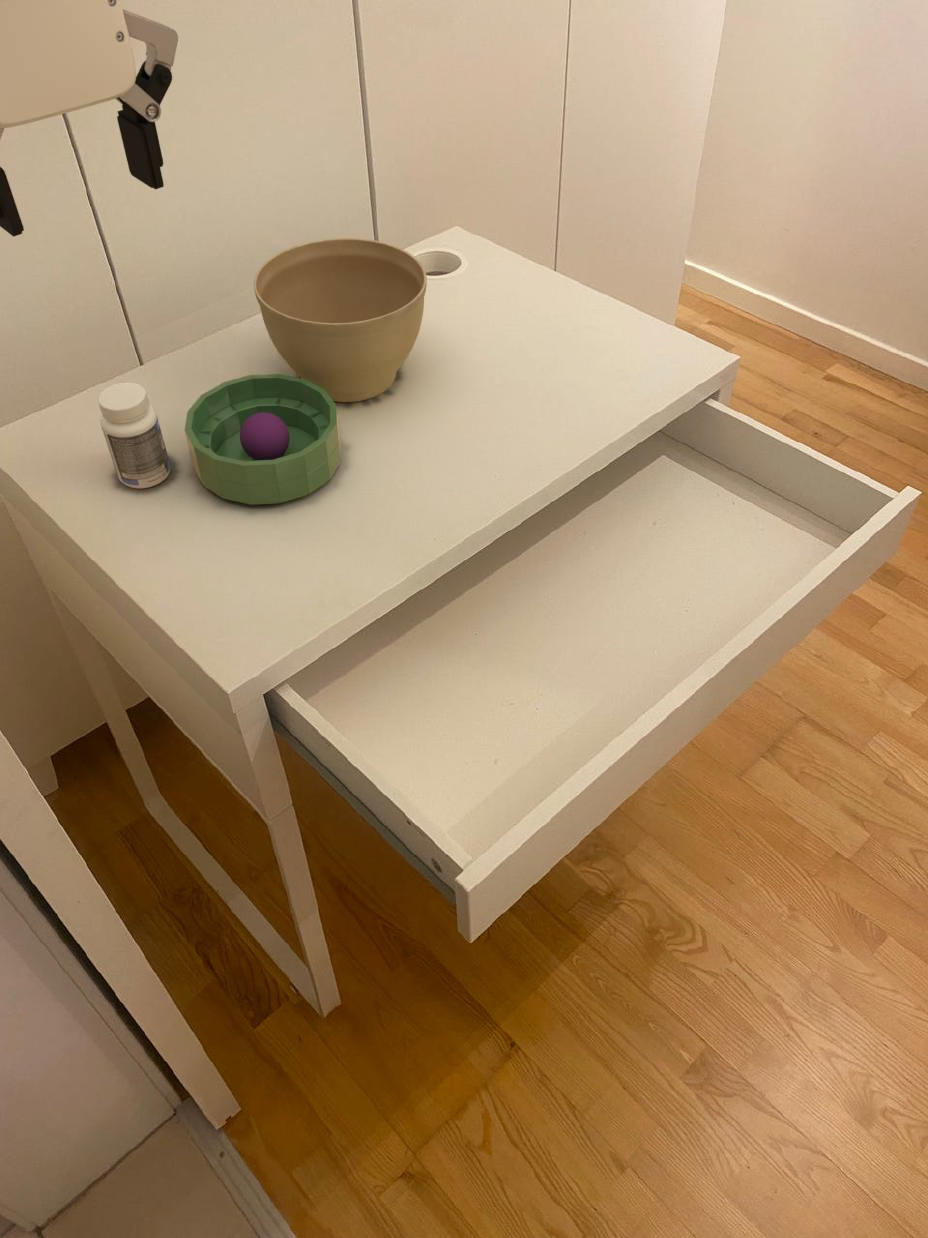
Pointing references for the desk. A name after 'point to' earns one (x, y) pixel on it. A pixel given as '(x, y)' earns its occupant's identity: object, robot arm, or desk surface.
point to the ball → (264, 436)
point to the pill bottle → (133, 435)
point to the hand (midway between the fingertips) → (80, 203)
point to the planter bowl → (343, 312)
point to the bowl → (264, 480)
